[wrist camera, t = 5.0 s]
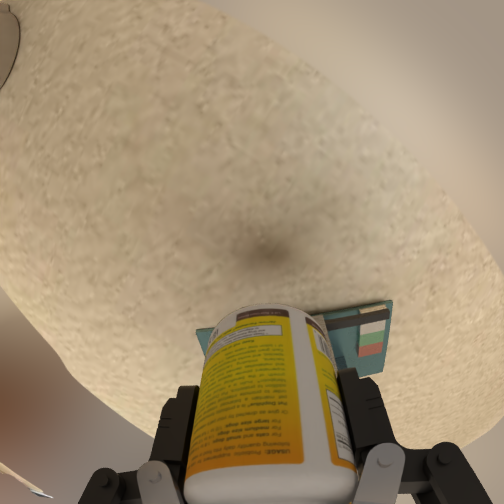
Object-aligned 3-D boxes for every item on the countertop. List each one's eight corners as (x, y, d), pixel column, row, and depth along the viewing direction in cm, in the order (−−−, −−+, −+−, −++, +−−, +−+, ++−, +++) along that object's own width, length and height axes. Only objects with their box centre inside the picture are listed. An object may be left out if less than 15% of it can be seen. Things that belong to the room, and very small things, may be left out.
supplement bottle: (191, 356, 14) (152, 553, 5) (244, 276, 12) (223, 558, 3) (284, 391, 16) (293, 565, 6) (348, 326, 13) (408, 539, 4)
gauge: (196, 329, 26) (176, 419, 17) (391, 299, 24) (435, 380, 16) (221, 393, 30) (214, 470, 21) (381, 369, 29) (407, 441, 20)
